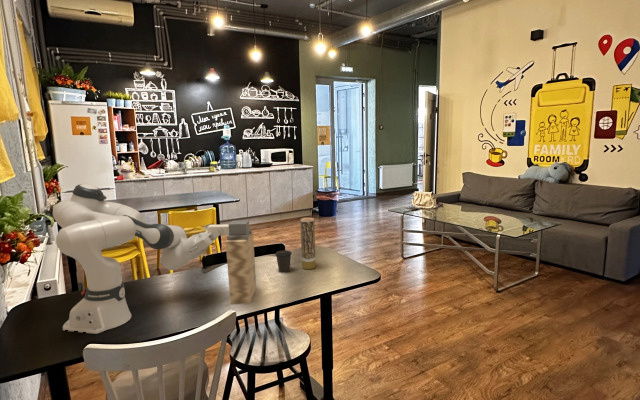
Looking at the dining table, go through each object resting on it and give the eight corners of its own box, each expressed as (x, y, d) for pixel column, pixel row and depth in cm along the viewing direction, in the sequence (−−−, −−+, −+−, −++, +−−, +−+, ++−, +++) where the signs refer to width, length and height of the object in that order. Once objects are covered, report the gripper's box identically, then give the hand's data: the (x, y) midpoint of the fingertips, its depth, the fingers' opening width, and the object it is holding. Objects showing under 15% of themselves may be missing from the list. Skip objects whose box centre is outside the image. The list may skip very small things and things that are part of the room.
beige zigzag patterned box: (230, 303, 156) (225, 238, 150) (238, 289, 169) (234, 228, 164) (250, 303, 155) (245, 237, 150) (256, 288, 169) (252, 228, 164)
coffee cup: (272, 271, 189) (271, 251, 187) (284, 266, 195) (284, 247, 193) (283, 275, 184) (282, 255, 182) (295, 270, 190) (295, 250, 188)
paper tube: (314, 270, 189) (312, 220, 184) (300, 269, 190) (298, 220, 186) (316, 265, 196) (315, 217, 191) (304, 264, 197) (302, 217, 192)
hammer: (207, 239, 155) (206, 224, 154) (211, 235, 161) (210, 221, 159) (246, 238, 154) (245, 224, 153) (249, 234, 160) (248, 220, 159)
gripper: (182, 247, 148) (212, 229, 146) (200, 232, 168) (226, 216, 166) (192, 260, 149) (221, 242, 147) (208, 244, 169) (234, 228, 167)
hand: (224, 228), depth 157 cm, fingers open, 4 cm apart
